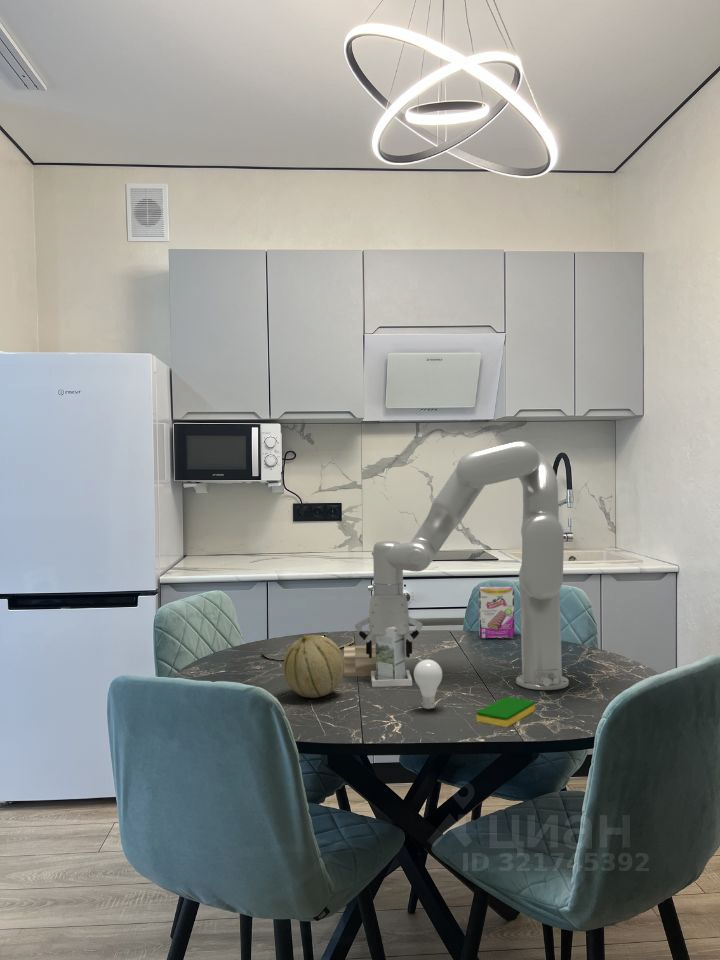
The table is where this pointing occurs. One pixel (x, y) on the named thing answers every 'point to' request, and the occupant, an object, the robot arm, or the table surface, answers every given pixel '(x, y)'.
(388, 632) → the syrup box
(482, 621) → the candy bar box
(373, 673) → the stand frame
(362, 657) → the block
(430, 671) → the lightbulb
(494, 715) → the dish sponge
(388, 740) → the table surface
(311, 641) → the cantaloupe
